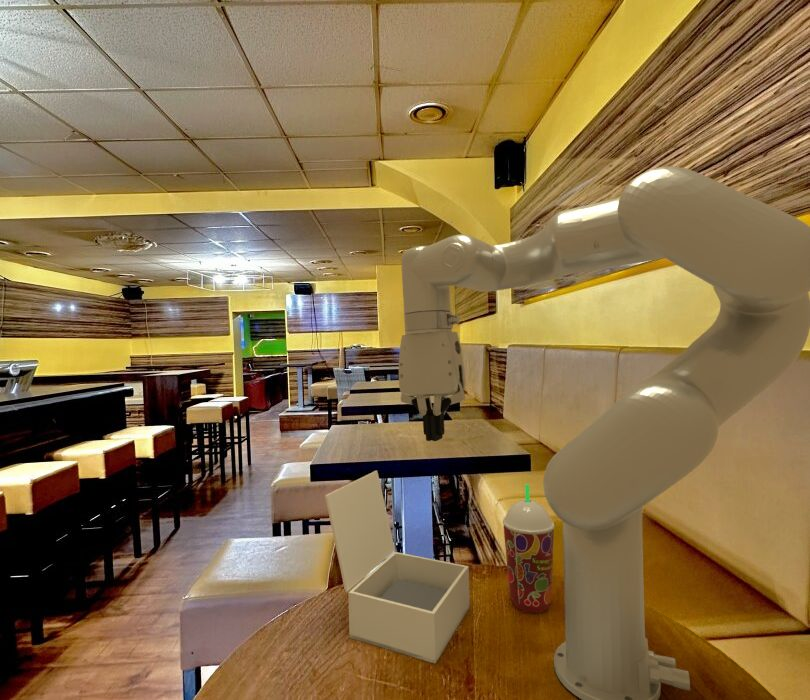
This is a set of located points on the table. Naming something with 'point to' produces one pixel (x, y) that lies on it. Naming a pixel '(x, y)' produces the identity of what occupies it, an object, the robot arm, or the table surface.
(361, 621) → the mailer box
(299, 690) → the table surface
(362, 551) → the lid
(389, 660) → the table surface
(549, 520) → the smoothie
